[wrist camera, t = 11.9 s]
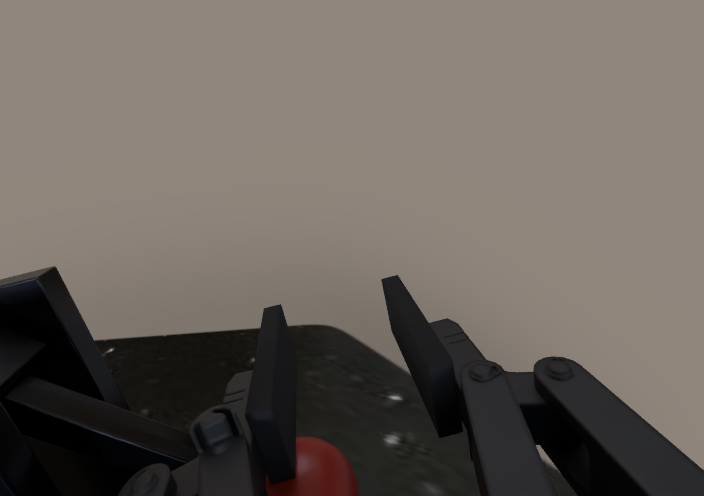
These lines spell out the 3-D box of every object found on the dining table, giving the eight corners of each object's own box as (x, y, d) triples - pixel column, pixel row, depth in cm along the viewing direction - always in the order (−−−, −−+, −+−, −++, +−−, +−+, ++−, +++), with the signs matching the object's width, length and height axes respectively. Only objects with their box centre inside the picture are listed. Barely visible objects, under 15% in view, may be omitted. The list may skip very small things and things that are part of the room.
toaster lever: (316, 504, 16) (368, 434, 16) (324, 616, 13) (393, 531, 12) (-70, 370, 12) (-22, 267, 12) (-229, 478, 8) (-171, 336, 8)
